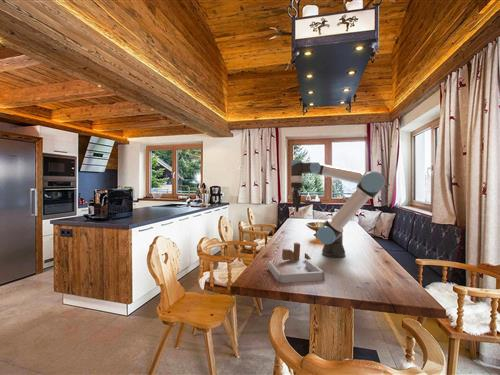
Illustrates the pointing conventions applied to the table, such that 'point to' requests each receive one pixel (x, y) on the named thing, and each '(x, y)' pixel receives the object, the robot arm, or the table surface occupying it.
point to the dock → (298, 274)
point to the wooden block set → (293, 253)
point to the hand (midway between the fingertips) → (296, 216)
